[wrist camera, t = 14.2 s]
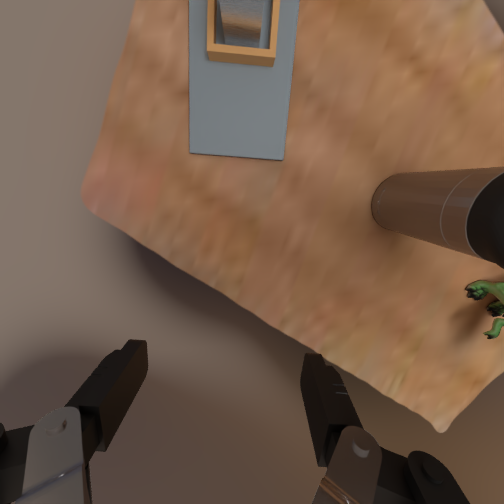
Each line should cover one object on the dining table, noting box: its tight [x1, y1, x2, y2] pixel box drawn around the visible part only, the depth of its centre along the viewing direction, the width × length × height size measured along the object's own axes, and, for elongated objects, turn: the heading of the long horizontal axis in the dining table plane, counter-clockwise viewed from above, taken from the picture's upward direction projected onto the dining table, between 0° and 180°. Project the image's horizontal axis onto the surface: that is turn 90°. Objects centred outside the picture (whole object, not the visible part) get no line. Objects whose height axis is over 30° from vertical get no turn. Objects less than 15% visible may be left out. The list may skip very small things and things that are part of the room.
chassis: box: [189, 0, 299, 161], centre depth 31 cm, size 14×22×4 cm, turn 176°
